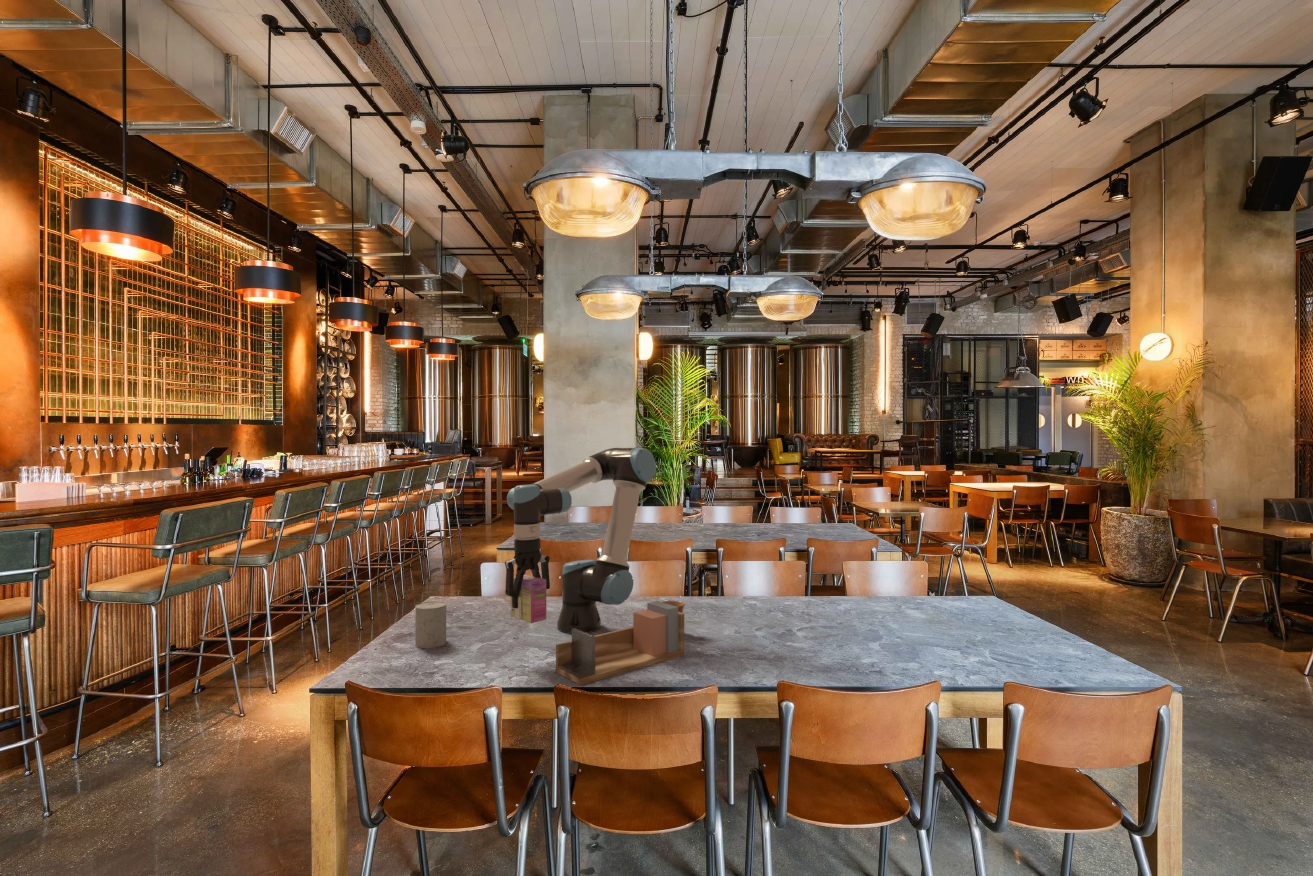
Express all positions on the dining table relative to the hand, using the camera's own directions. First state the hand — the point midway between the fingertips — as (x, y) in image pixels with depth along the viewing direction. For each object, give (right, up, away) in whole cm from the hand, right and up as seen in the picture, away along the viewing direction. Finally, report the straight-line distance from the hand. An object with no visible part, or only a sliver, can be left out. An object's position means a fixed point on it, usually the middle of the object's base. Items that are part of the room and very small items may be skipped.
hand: (528, 616), depth 183 cm
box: (0, -1, 0) cm, 1 cm away
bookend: (+16, -11, -12) cm, 23 cm away
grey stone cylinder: (-35, -14, +17) cm, 41 cm away
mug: (+42, -14, +25) cm, 51 cm away
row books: (+37, -12, +6) cm, 40 cm away
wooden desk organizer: (+28, -13, -1) cm, 31 cm away
